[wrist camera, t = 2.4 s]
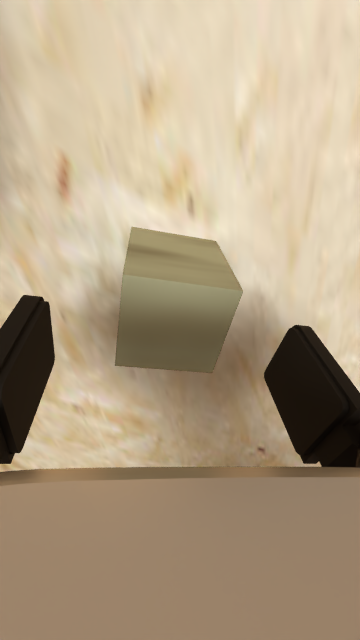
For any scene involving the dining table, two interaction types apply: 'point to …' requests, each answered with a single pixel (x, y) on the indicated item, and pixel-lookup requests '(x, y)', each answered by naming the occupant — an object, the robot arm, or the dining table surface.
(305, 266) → the dining table surface
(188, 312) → the sage block
